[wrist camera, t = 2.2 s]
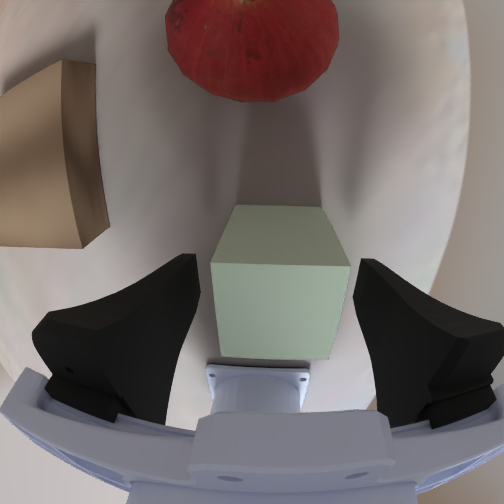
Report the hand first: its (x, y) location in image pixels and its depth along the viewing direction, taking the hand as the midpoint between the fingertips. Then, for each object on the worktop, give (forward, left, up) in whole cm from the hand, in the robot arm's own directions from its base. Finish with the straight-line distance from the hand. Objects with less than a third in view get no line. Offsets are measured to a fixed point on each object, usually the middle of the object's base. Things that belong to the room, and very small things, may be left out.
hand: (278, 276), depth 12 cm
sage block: (0, 0, -3) cm, 3 cm away
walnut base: (+6, +15, -3) cm, 16 cm away
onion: (+10, +1, -4) cm, 11 cm away
